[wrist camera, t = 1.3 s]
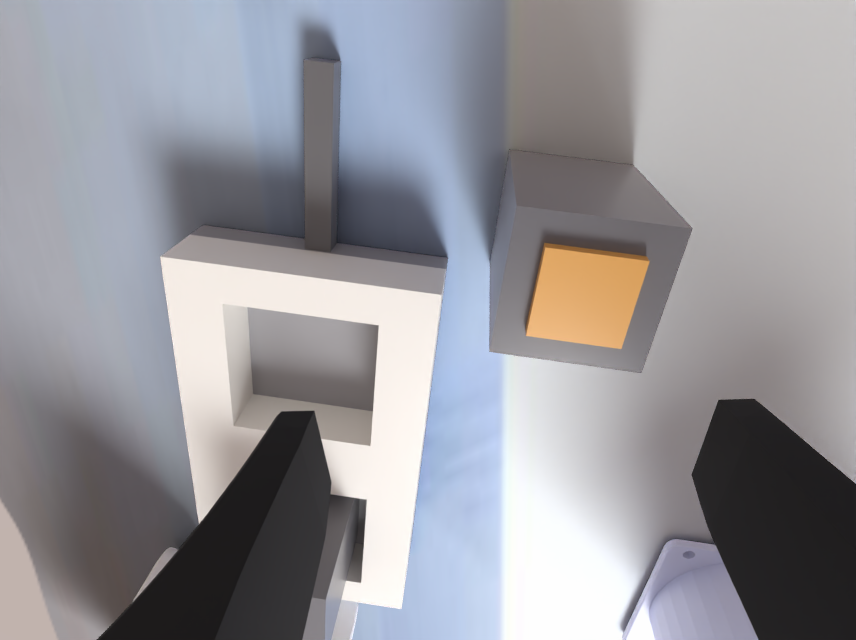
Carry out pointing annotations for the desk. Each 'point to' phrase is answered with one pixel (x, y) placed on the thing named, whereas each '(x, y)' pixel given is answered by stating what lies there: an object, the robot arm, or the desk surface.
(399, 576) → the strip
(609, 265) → the plug
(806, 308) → the desk surface
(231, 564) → the robot arm
